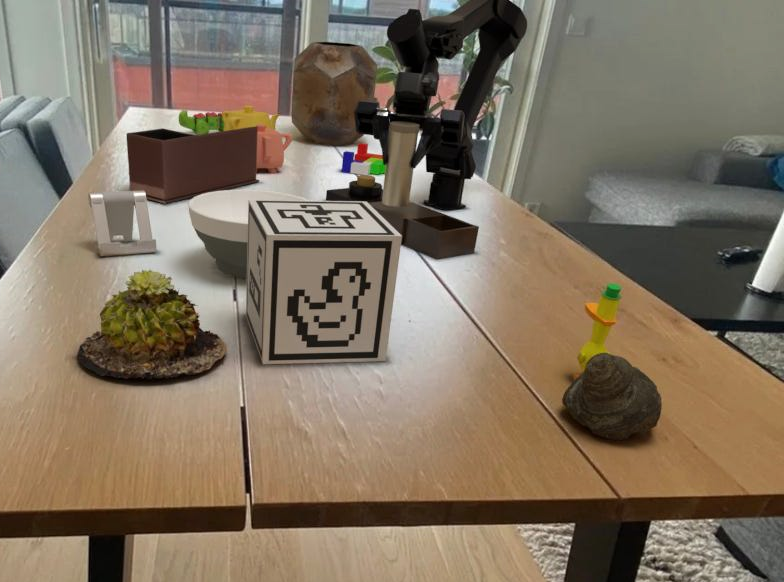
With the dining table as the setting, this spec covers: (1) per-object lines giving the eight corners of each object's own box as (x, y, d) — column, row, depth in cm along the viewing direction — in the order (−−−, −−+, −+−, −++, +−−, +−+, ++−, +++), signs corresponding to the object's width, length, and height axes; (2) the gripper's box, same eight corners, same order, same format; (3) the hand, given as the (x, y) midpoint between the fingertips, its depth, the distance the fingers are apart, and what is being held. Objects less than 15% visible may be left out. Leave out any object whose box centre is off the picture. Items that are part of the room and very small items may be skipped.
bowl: (218, 297, 107) (218, 228, 102) (171, 255, 121) (169, 192, 116) (339, 283, 115) (345, 218, 110) (282, 245, 129) (285, 186, 124)
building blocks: (394, 179, 178) (396, 159, 176) (341, 171, 181) (342, 152, 179) (407, 167, 190) (410, 149, 188) (358, 161, 193) (359, 142, 191)
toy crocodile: (243, 131, 219) (243, 108, 216) (251, 135, 214) (251, 111, 211) (175, 131, 212) (175, 107, 208) (182, 136, 207) (182, 111, 203)
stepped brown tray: (400, 223, 146) (403, 198, 144) (474, 253, 133) (479, 226, 130) (361, 228, 141) (363, 203, 139) (434, 259, 128) (438, 232, 126)
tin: (396, 198, 139) (406, 120, 132) (415, 205, 136) (425, 125, 128) (375, 201, 136) (384, 121, 129) (393, 208, 133) (403, 127, 126)
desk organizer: (126, 194, 151) (122, 132, 145) (222, 174, 172) (223, 119, 166) (164, 204, 146) (162, 141, 140) (259, 182, 167) (261, 126, 161)
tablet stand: (102, 258, 118) (97, 202, 113) (90, 243, 124) (86, 189, 119) (156, 254, 121) (154, 199, 117) (143, 239, 127) (140, 187, 122)
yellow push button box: (371, 196, 163) (373, 176, 161) (401, 207, 156) (404, 187, 154) (325, 201, 157) (327, 180, 155) (355, 213, 150) (357, 192, 148)
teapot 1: (273, 146, 203) (274, 103, 197) (279, 156, 193) (281, 111, 187) (221, 144, 201) (221, 101, 195) (225, 154, 190) (225, 108, 185)
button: (366, 183, 157) (367, 174, 156) (378, 187, 154) (379, 178, 153) (353, 184, 155) (353, 175, 154) (363, 188, 152) (364, 179, 151)
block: (262, 364, 90) (267, 234, 81) (245, 316, 102) (248, 199, 94) (385, 361, 93) (402, 235, 84) (354, 314, 105) (366, 201, 97)
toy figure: (557, 368, 94) (583, 272, 87) (584, 368, 94) (612, 273, 88) (580, 393, 88) (610, 293, 82) (609, 393, 89) (641, 293, 82)
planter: (317, 130, 228) (323, 38, 214) (387, 144, 216) (398, 48, 203) (271, 138, 212) (275, 40, 199) (344, 153, 201) (353, 50, 188)
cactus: (91, 394, 81) (82, 306, 75) (66, 336, 93) (57, 256, 87) (245, 374, 87) (247, 291, 82) (203, 322, 99) (203, 247, 94)
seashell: (534, 348, 83) (567, 389, 74) (638, 294, 80) (684, 330, 72) (567, 427, 89) (601, 473, 80) (665, 378, 86) (712, 421, 78)
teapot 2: (251, 162, 185) (251, 118, 179) (293, 170, 180) (295, 125, 175) (223, 169, 176) (223, 123, 171) (267, 177, 171) (269, 130, 166)
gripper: (361, 46, 128) (340, 128, 125) (473, 56, 124) (454, 140, 122) (366, 93, 139) (347, 169, 136) (469, 104, 135) (452, 182, 132)
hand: (398, 165), depth 131 cm, fingers closed on tin, 5 cm apart
